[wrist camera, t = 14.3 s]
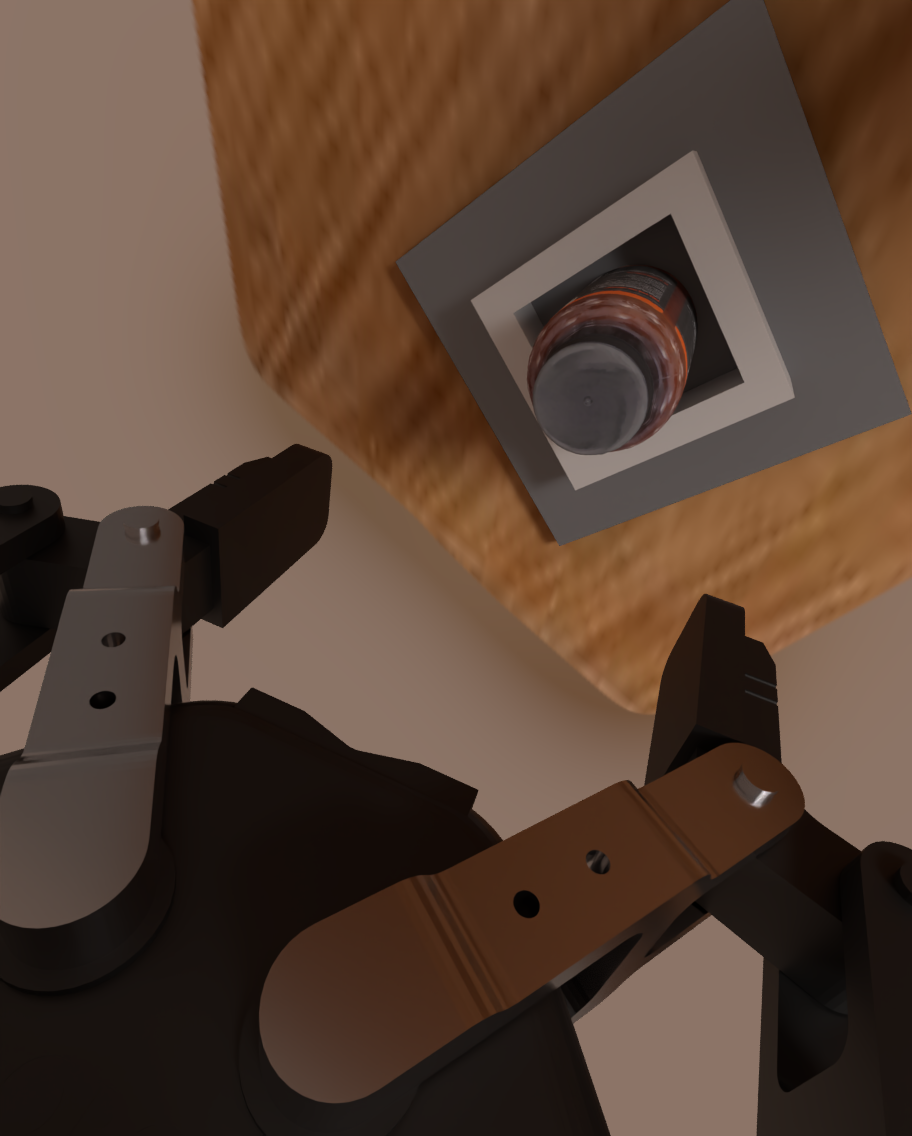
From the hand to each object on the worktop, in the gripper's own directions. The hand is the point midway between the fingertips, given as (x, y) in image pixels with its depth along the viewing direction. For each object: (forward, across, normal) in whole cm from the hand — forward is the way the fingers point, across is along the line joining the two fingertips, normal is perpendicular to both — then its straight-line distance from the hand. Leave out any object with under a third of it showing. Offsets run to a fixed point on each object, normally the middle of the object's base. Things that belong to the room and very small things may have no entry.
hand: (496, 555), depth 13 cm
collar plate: (+23, 0, 0) cm, 23 cm away
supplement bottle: (+22, 0, 0) cm, 22 cm away
